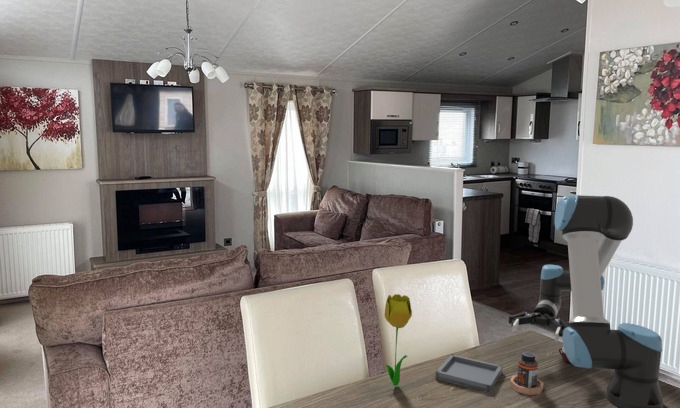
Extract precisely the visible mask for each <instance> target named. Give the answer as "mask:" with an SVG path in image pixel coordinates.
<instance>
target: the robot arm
mask: <svg viewBox="0 0 680 408" xmlns="http://www.w3.org/2000/svg"><path fill="white" fill-rule="evenodd" d="M633 226H634V218H633V214H632V211H631V209H630V208H629V206H628V204H626V203H625V202H624V201H623V200H621V199H619V198H618V197H615V196H611V195H610V196H609V195H604V196H603V195H578V194H575V195H564V196H562V197H561V198H560V200H559V201H558V203H557V206H556V208H555V212H554V227H555V229H556V231H558V232H561V237H562V239H564V240H565V241H566V242H567V248H568V250H567V251H568V262H569V263H568V264H569V271H567V270H564V268H563V267H562V266H560V265H558V264H556V265H555V264H544V265H543V266H542V267H541V268H542V269H541V273H540V288H539V290H540V291H539V298H538V303H537V304H536V306H535V308H534V309H533V312H532V313H528V312H527V310H526V311H525V310H523V311H522V312H518V313H515V314H512V315H509V316H508V324H509V325H511V327H512V331H511V333H512V334H514V333H516V331H517V330H518V328H519V326H521V325H528V324H530V325H539V326H540V327H547V328H549V329H552V330H554V331H555V333H554V342H558V340H559V338H560V337H561V338H562V345H563V346H564V350H565V353H566V356H567V358H568V360H569V361H570V362H571V363H570V364H571V365H572V366H574V367H577V368H585V369H601V370H602V369H603V370H614V372H613V375H612V377H611V379H610V380H609V383H608V384H607V386H606V389H605V390H606V392H605V397H606V399H607V400H608V401H609V402H610V404H611V403H612V405H614V406H616V407H618V408H664V398H663V394H662V392H661V388H660V385H659V377H660V367H661V361H662V360H661V359H662V352H663V344H662V343H663V339H662V337H661V336H660V334H659V333H658V332H656V331H654V330H653V329H650V328H648V327H645V326H642V325H639V324H634V323H629V322H628V323H627V322H622V323H620V324H619V325H618V326H617V329H612V328H611V323H610V321H608V320H607V319H606V317H605V315H604V314H605V313H604V306H603V305H604V304H603V290H604V287H605V279H604V275H603V274H605V273H604V272H605V271H606V269H607V268H608V265H609V264H610V262H611V260H612V259H613V256H614V255H615V253H616V251H617V250H618V248H619V246H620V245H621V242H622V241H624V240H626V239H627V238H628V237H629V236H630V234H631V232H632V230H633ZM562 292H571V302H572V303H571V305H572V318H570V320H569V321H568V324H567V322H566V321H564V318H563V317H558V318H557V316H558V313H559V311H560V310H561V308H562V300H561V299H562V298H561V296H562ZM563 346H562V347H563Z"/></svg>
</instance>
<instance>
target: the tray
mask: <svg viewBox="0 0 680 408" xmlns="http://www.w3.org/2000/svg"><path fill="white" fill-rule="evenodd" d="M503 367H504V366H503V365H499V364H496V363H491V362H488V361H483V360H479V359H474V358H470V357H465V356H461V355H457V354H453V353H451V354H450V355H449V356H448V357H447V359H445V360H444V362H443V363H442V364H441V365H440V367H439V368H437V370H436V371H435V380H439V381H442V382H447V383H449V384H455V385H458V386H460V387H461V386H462V387H464V388H469V389H473V390H478V391H481V392H486V393H488V394H490V393H492V391H493V389H494V388H495V386H496V384H497V383H498V381H499V379H500V377H501V376H502V374H503V370H504V368H503Z"/></svg>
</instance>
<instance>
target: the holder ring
mask: <svg viewBox="0 0 680 408" xmlns="http://www.w3.org/2000/svg"><path fill="white" fill-rule="evenodd" d="M509 387H510V388H511V389H512V390H514V391H515V392H517V393H520V394H524V395H529V396H534V395H540V394H542V393H543V390H544V382H543V381H542V380H540V379H539V378H537V383H536V388H526V387H522V386H519V385H517V375H512V376H511V378H510V379H509Z"/></svg>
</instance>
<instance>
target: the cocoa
mask: <svg viewBox="0 0 680 408" xmlns="http://www.w3.org/2000/svg"><path fill="white" fill-rule="evenodd" d="M558 352H559V354H560V355H561V357H562V359H563V360H564V362H565V363H568V364H571V362H570V361H569V360H568V358H567V356H566V353H565V350H564V346H562V348H559V349H558Z"/></svg>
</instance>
